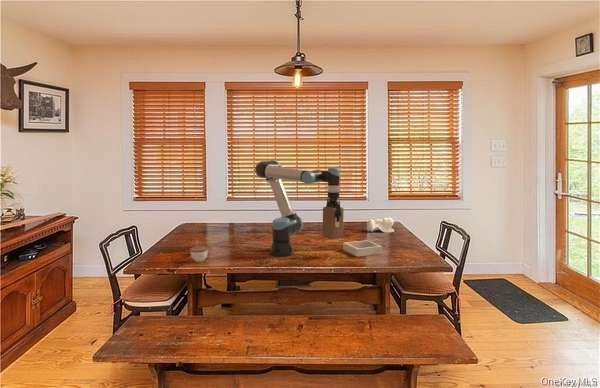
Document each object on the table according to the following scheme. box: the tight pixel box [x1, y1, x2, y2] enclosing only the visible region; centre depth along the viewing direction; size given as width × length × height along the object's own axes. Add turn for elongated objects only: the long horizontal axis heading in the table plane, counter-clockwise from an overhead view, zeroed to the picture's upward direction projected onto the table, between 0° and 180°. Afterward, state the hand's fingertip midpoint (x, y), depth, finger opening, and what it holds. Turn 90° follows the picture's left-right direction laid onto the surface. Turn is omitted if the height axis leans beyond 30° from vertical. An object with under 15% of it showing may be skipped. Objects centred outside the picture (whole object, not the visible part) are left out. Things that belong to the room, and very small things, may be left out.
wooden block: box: [322, 206, 344, 240], centre depth 261 cm, size 10×10×20 cm
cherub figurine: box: [368, 217, 395, 234], centre depth 337 cm, size 13×12×20 cm
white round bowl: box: [189, 245, 209, 263], centre depth 252 cm, size 11×11×9 cm
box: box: [342, 239, 383, 258], centre depth 271 cm, size 19×19×5 cm
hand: (332, 225), depth 261 cm, fingers closed on wooden block, 11 cm apart
